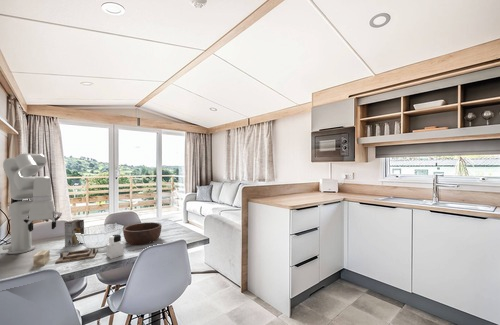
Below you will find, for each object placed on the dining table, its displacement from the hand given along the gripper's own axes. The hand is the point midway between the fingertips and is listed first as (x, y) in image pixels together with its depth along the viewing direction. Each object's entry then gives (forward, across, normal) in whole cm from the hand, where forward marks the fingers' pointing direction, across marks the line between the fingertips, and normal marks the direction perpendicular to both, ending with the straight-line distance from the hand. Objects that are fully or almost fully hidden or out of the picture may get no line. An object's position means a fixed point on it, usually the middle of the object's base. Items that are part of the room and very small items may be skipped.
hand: (42, 229), depth 130 cm
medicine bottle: (+19, +36, -5) cm, 41 cm away
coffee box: (+19, +8, +31) cm, 37 cm away
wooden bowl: (+19, +51, +18) cm, 57 cm away
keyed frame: (+18, +16, +3) cm, 24 cm away
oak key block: (+19, 0, 0) cm, 19 cm away
